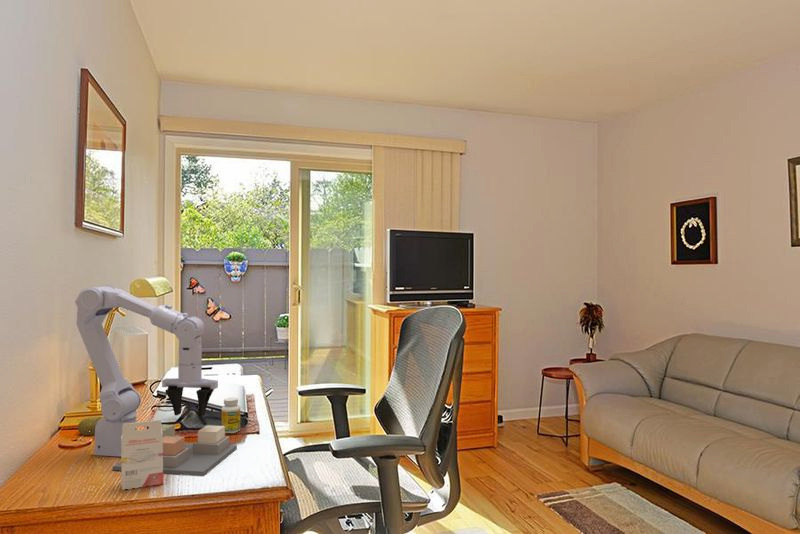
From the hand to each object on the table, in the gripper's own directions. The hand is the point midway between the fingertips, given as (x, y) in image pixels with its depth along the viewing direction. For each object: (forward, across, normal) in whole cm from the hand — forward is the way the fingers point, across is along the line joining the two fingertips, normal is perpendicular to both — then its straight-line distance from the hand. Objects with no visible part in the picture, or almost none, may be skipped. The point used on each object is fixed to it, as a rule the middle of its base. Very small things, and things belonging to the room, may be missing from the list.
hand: (189, 415), depth 148 cm
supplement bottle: (+10, +3, +19) cm, 22 cm away
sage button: (+7, -7, -1) cm, 10 cm away
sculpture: (+10, -36, +12) cm, 39 cm away
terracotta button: (+7, 0, -10) cm, 12 cm away
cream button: (+7, +6, 0) cm, 9 cm away
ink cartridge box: (+10, 0, -21) cm, 23 cm away
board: (+10, 0, -5) cm, 11 cm away
